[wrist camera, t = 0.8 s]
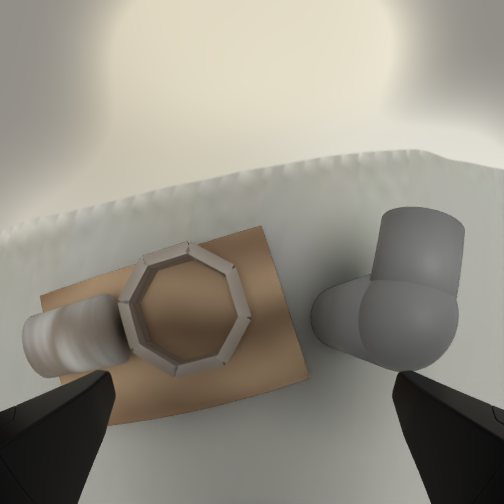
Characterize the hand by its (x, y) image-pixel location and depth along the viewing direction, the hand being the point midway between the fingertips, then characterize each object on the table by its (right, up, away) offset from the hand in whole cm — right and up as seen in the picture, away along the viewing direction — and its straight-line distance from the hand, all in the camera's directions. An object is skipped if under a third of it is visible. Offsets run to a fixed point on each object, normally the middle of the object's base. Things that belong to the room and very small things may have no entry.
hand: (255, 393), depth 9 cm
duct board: (-7, -3, +15) cm, 17 cm away
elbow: (+7, -1, +15) cm, 17 cm away
